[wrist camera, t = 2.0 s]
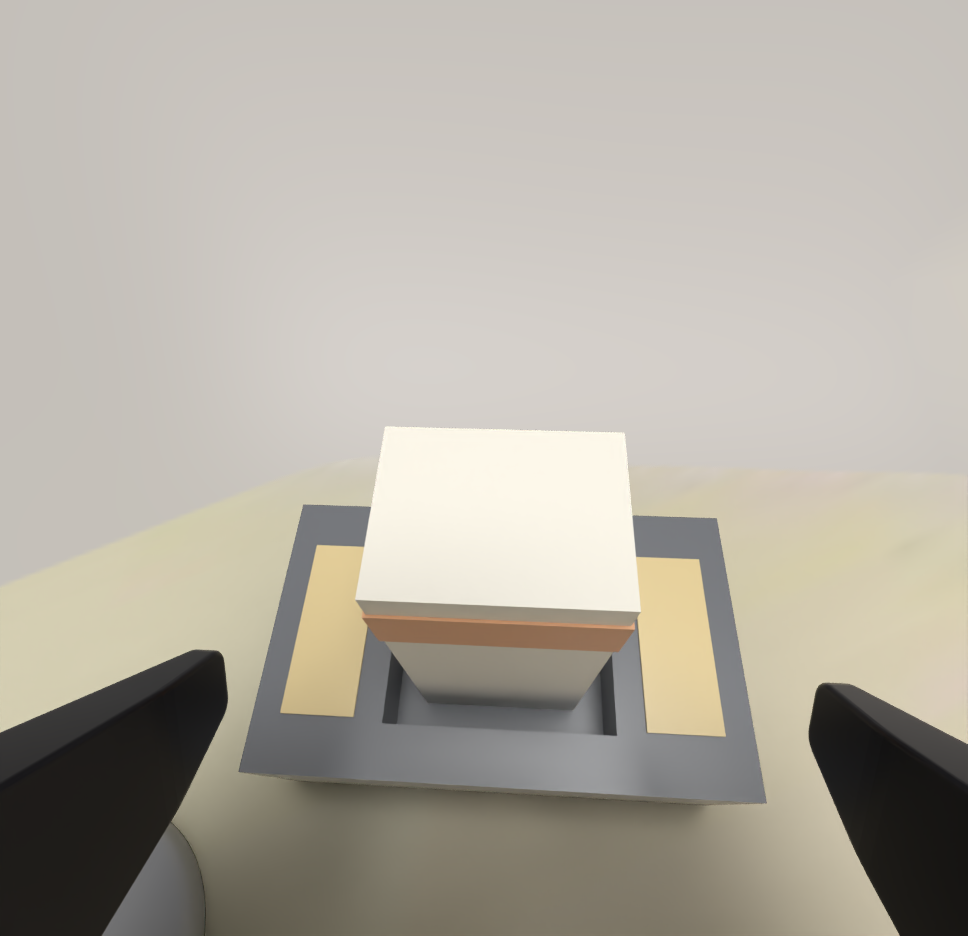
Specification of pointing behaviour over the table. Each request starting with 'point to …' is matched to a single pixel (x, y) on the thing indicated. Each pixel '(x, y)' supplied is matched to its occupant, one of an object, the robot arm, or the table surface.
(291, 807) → the table surface
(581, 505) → the plug
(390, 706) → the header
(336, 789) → the table surface
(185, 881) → the coaster
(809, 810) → the table surface
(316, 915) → the table surface
